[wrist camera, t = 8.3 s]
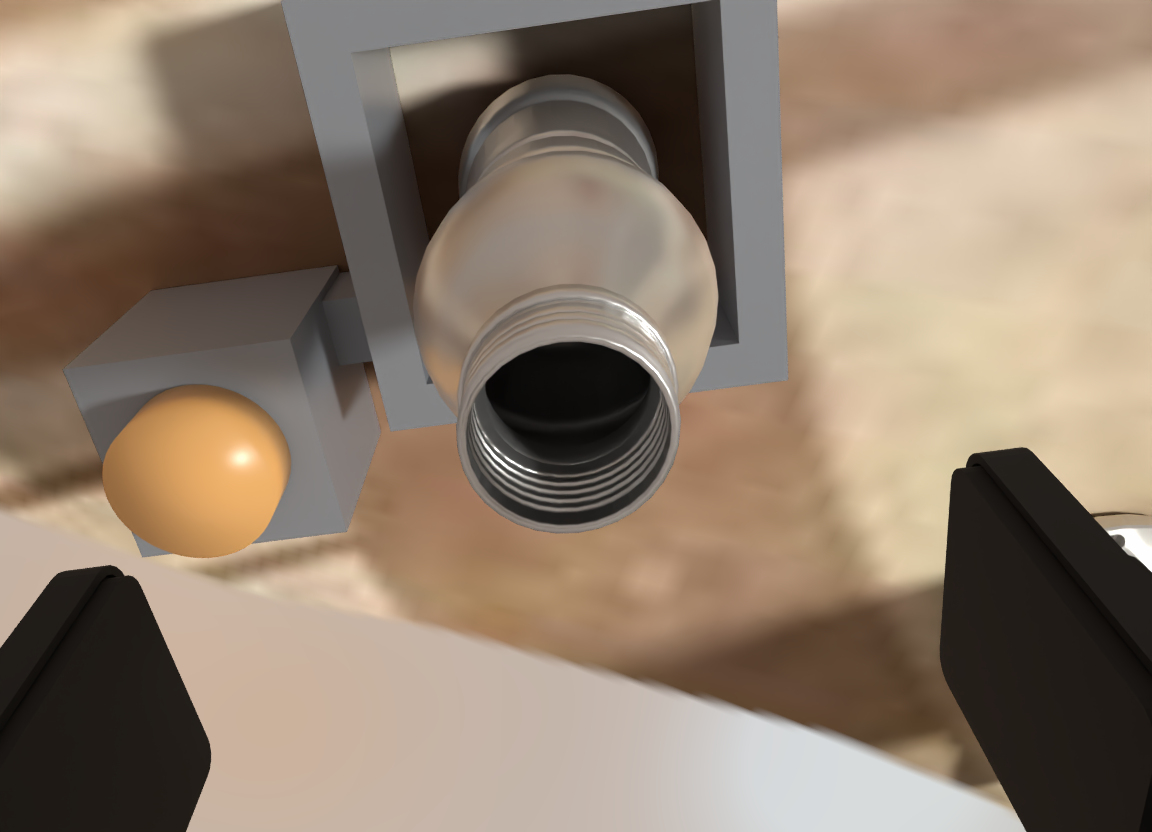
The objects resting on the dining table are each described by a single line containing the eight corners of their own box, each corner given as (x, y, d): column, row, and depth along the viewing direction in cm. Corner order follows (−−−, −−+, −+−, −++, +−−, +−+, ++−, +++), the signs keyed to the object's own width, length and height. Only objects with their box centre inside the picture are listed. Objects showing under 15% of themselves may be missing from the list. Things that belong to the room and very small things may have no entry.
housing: (755, 383, 37) (797, 475, 30) (210, 454, 38) (142, 557, 31) (733, -72, 29) (783, -73, 23) (56, 29, 30) (-72, 53, 24)
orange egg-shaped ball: (334, 451, 34) (294, 547, 29) (201, 468, 34) (136, 567, 29) (297, 325, 32) (246, 404, 26) (155, 344, 32) (76, 426, 27)
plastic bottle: (433, 206, 33) (299, 521, 15) (518, 25, 30) (474, 152, 13) (592, 286, 35) (637, 657, 17) (687, 120, 32) (857, 352, 14)
